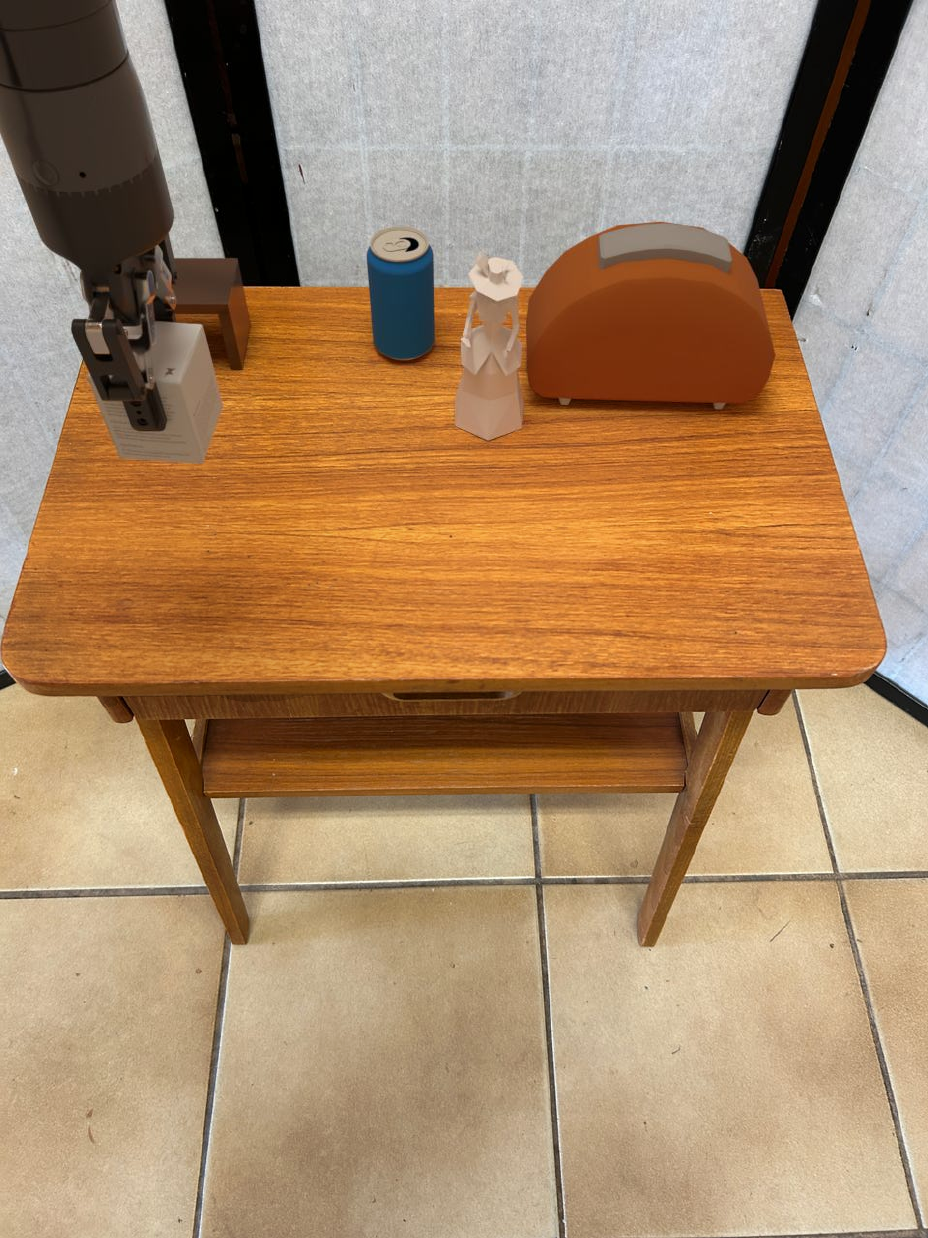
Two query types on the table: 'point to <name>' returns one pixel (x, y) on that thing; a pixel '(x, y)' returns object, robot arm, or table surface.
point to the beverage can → (401, 292)
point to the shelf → (216, 299)
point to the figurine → (491, 353)
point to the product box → (172, 399)
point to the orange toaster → (649, 320)
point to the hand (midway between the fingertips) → (160, 391)
